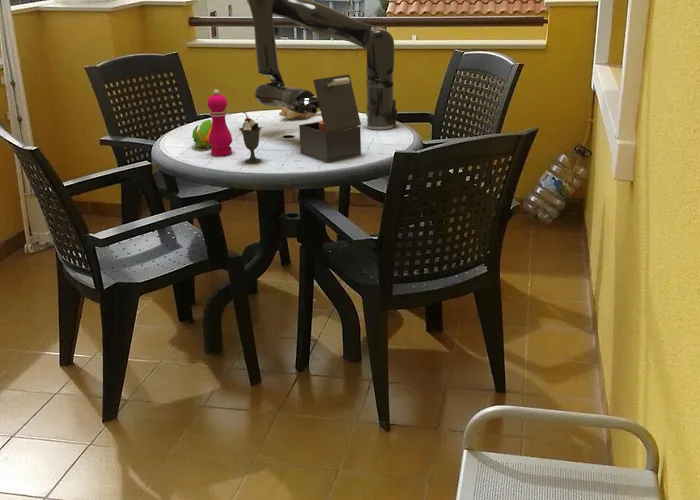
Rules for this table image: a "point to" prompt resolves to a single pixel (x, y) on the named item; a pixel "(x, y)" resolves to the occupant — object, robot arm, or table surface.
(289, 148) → the table surface
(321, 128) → the tin can
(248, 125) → the sundae
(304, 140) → the open brown box
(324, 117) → the dark brown box lid
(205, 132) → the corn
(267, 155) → the table surface
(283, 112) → the ginger root
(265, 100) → the robot arm
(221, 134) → the pepper mill
